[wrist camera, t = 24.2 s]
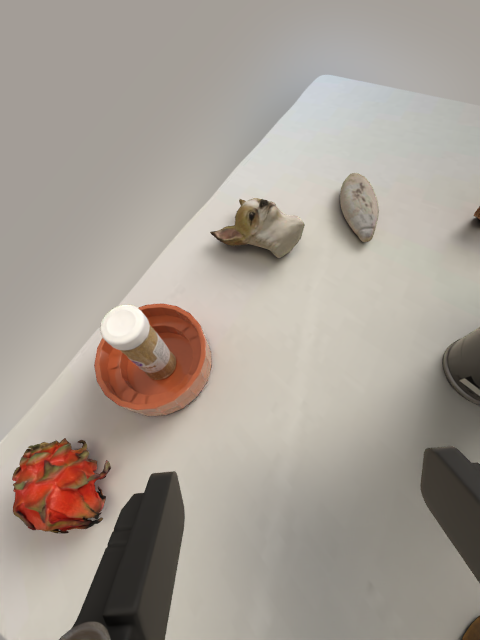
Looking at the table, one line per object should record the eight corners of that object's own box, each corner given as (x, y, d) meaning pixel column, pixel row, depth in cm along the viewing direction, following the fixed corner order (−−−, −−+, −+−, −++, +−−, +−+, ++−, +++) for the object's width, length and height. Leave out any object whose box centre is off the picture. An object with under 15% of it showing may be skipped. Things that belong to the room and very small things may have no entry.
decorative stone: (347, 246, 50) (353, 232, 46) (332, 185, 57) (336, 169, 53) (384, 244, 49) (392, 230, 46) (364, 182, 56) (370, 166, 53)
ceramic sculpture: (286, 240, 39) (200, 207, 45) (285, 278, 47) (211, 247, 52) (321, 193, 43) (238, 168, 49) (314, 235, 51) (243, 210, 56)
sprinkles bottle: (142, 379, 40) (92, 342, 28) (149, 348, 42) (106, 301, 30) (174, 382, 40) (136, 345, 28) (180, 351, 42) (148, 304, 30)
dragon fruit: (59, 442, 39) (123, 504, 37) (-14, 496, 32) (59, 576, 30) (64, 407, 35) (136, 476, 32) (-21, 461, 28) (64, 553, 26)
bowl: (176, 305, 46) (166, 286, 41) (232, 370, 41) (228, 357, 36) (97, 361, 43) (76, 347, 38) (146, 440, 37) (129, 436, 32)
